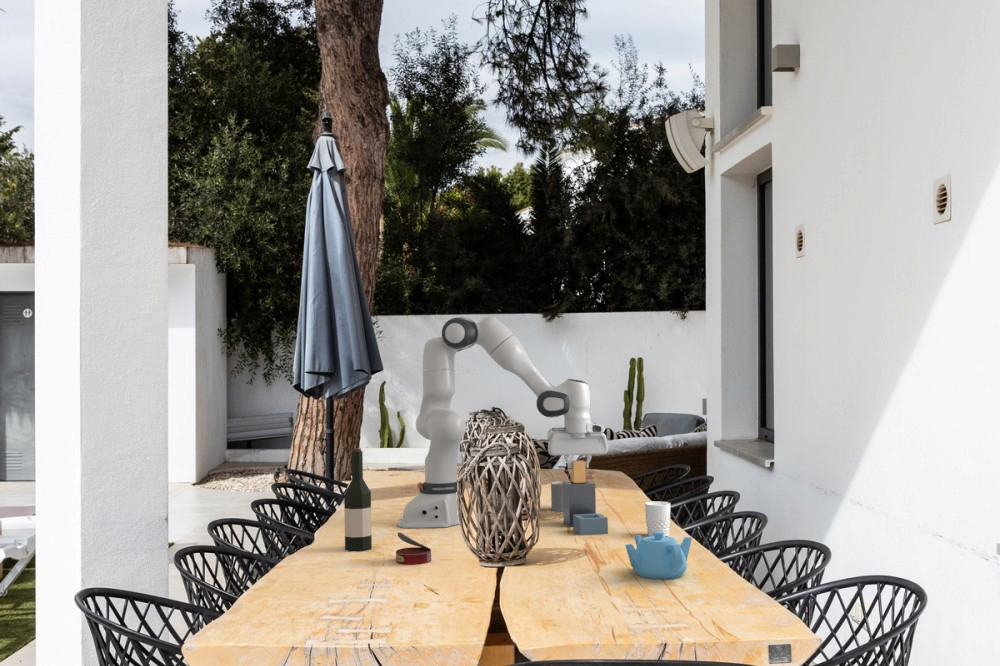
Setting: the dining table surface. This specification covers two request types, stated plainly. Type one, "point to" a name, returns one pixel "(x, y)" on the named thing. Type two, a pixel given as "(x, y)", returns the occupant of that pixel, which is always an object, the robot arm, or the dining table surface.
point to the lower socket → (590, 524)
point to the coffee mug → (557, 496)
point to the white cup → (657, 517)
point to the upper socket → (578, 500)
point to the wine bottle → (357, 508)
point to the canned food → (412, 553)
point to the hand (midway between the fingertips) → (578, 468)
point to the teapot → (659, 556)
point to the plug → (578, 472)
